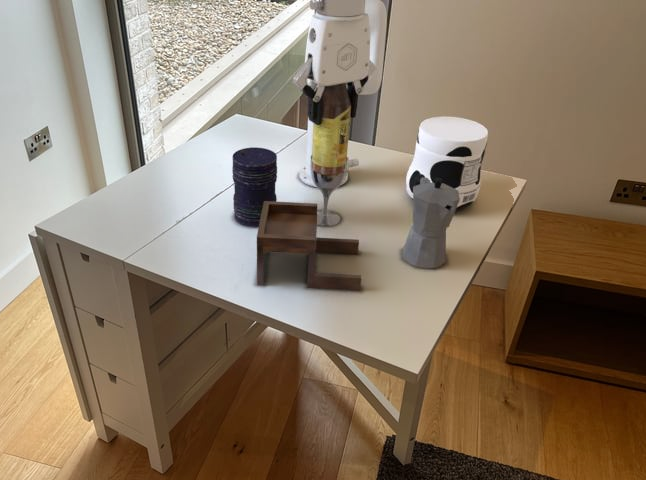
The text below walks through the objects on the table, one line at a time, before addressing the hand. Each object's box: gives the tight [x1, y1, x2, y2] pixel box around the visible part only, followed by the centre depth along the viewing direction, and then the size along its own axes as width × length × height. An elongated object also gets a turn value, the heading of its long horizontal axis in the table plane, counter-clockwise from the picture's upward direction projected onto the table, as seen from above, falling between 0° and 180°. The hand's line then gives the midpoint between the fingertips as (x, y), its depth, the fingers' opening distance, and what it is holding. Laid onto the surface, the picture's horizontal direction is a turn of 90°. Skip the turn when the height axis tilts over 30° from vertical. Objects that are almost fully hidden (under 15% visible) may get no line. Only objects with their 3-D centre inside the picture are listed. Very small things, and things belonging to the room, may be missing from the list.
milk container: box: [405, 115, 489, 211], centre depth 138 cm, size 17×17×18 cm
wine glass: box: [311, 155, 348, 227], centre depth 131 cm, size 8×8×15 cm
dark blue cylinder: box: [231, 146, 278, 228], centre depth 131 cm, size 10×10×15 cm
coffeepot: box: [402, 174, 460, 270], centre depth 118 cm, size 15×9×18 cm, turn 13°
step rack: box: [256, 201, 362, 292], centre depth 116 cm, size 20×14×11 cm
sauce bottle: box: [312, 83, 351, 176], centre depth 100 cm, size 7×6×20 cm
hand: (332, 117), depth 101 cm, fingers closed on sauce bottle, 6 cm apart
